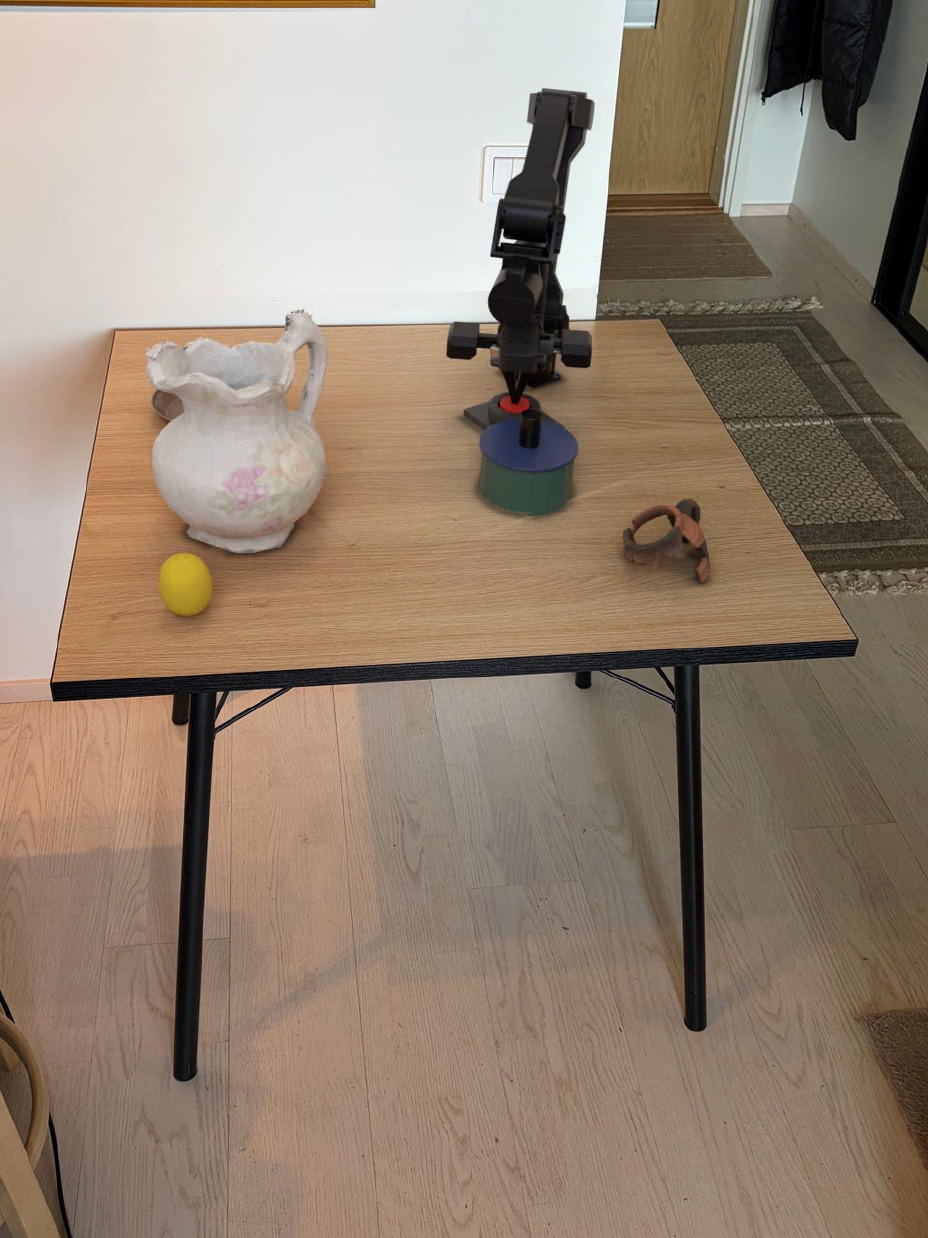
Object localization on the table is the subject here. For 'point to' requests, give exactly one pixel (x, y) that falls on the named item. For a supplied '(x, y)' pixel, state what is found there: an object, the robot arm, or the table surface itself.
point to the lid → (528, 444)
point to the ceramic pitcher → (240, 436)
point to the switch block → (501, 412)
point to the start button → (514, 405)
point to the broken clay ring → (669, 536)
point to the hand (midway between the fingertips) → (515, 402)
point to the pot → (526, 488)
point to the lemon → (185, 584)
